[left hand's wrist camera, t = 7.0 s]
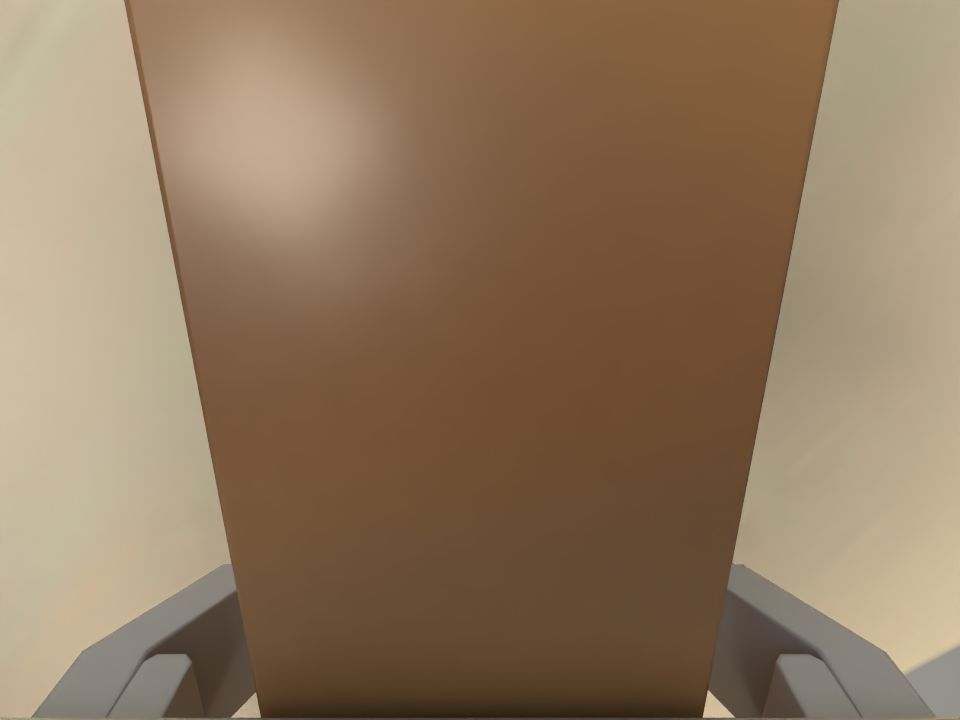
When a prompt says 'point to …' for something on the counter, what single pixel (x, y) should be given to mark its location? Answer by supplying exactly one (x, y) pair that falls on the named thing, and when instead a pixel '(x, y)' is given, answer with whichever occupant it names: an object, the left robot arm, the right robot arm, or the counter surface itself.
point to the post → (481, 330)
